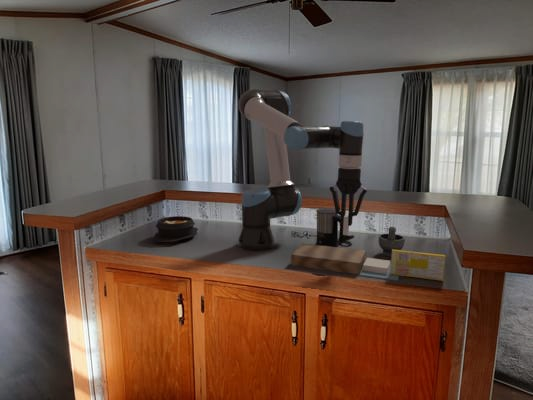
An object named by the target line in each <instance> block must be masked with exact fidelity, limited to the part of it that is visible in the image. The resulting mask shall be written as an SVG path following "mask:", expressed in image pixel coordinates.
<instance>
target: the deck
mask: <svg viewBox="0 0 533 400" xmlns="http://www.w3.org/2000/svg"><path fill="white" fill-rule="evenodd" d="M366 254H367V251H366V250H364V249H357V248H356V249H355V248H346V247H345V248H344V247H338V246H337V247H329V246H320V245H316V244H310V243H302V244H300V245H299V246H298V247H297V248H296V249H295V250H294V251H293V252H292V253H291V255H290V258H291V260H290V263H291V264H290V266H295V267H303V268H310V269H316V270H322V271H323V270H324V271H330V272H338V273H346V274H353V275H360V273H361V271H362V269H363V264H364V263H365V261H366V259H367V256H366Z"/></svg>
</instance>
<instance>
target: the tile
mask: <svg viewBox="0 0 533 400" xmlns="http://www.w3.org/2000/svg"><path fill="white" fill-rule="evenodd" d="M390 262H391V260H388V259H386V260H385V259H381V258H380V259H379V258H373V257H372V258H371V257H366V258H365V263H364V264H363V268H362V269H363V271H369V272H376V273H383V274H388V271H389V268H390Z"/></svg>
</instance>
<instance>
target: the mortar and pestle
mask: <svg viewBox="0 0 533 400" xmlns="http://www.w3.org/2000/svg"><path fill="white" fill-rule="evenodd" d="M387 231H388V233H382V234H379V235H378V244H379V247H380V249H382V255H384V256H385V257H392V249H394V250H403V248H404V245H405V239H406V238H405V236H403V235H401V234H396V232H397V228H396V227H394V226H389V227H388V230H387Z"/></svg>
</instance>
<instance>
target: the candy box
mask: <svg viewBox="0 0 533 400" xmlns="http://www.w3.org/2000/svg"><path fill="white" fill-rule="evenodd" d="M390 262H391V268H390V274H393V275H399V276H403V277H410V278H416V279H417V278H418V279H424V280H432V281H439V282H440V281H441V282H444V276H445V266H446V265H445V264H446V255H445V254H437V253H428V252H421V251H420V252H419V251H409V250H403V249H401V250H394V249H392V257H391V259H390Z"/></svg>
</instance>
